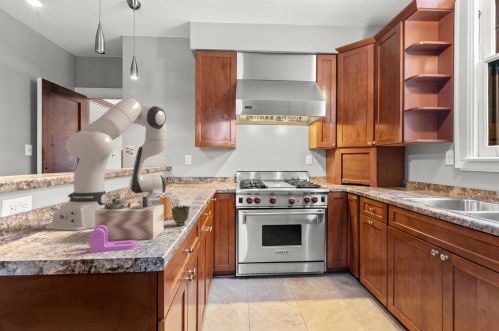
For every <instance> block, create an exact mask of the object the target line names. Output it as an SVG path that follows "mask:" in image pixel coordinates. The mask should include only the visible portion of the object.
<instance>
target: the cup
mask: <svg viewBox="0 0 499 331" xmlns="http://www.w3.org/2000/svg"><path fill="white" fill-rule="evenodd" d="M171 214H172V216H173V220H172V221H174V222H175V226H177V227H183V226H185V223H186V221H187V220H188V219H189V214H190V206H189V205H173V207H172V208H171Z"/></svg>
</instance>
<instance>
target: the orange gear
mask: <svg viewBox="0 0 499 331" xmlns="http://www.w3.org/2000/svg"><path fill="white" fill-rule="evenodd" d="M160 205H164V221H170V220H172V221H174V220H173V216H172V208H173V207H172V197H160Z"/></svg>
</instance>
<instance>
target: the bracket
mask: <svg viewBox="0 0 499 331" xmlns="http://www.w3.org/2000/svg"><path fill="white" fill-rule="evenodd" d="M89 238H90V240H89V243H90V246H89V248H90V250H89V252H90V253H91V252H93V253H102V252H103V253H104V252H114V251H124V250H133V249H137V248H138V247H139V241H138V240H136V239H128V240H118V241H108V240H109V239H108V230H107V228H106V227H105V226H103V225H100V226H97V227H96V228H93V231H91V233H90V236H89ZM91 254H92V253H91Z"/></svg>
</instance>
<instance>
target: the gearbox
mask: <svg viewBox="0 0 499 331" xmlns="http://www.w3.org/2000/svg"><path fill="white" fill-rule="evenodd" d="M142 198H143V205H139V204H131V201H122V200H121V199H115V198H112V199H111V200H112V201H111V202H105V207H104V208H101V209H98V210H95V228H96V227H97V226H100V225H103V226H105V227H106V228H107V230H108V240H154V239H155V238H156V237H157V236H158V235H159V234H161V233H162V232H163V231H164V228H165V226H164V224H165V220H164V205H148V197H147V196H146V195H145V196H142ZM95 228H94V229H95Z"/></svg>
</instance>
